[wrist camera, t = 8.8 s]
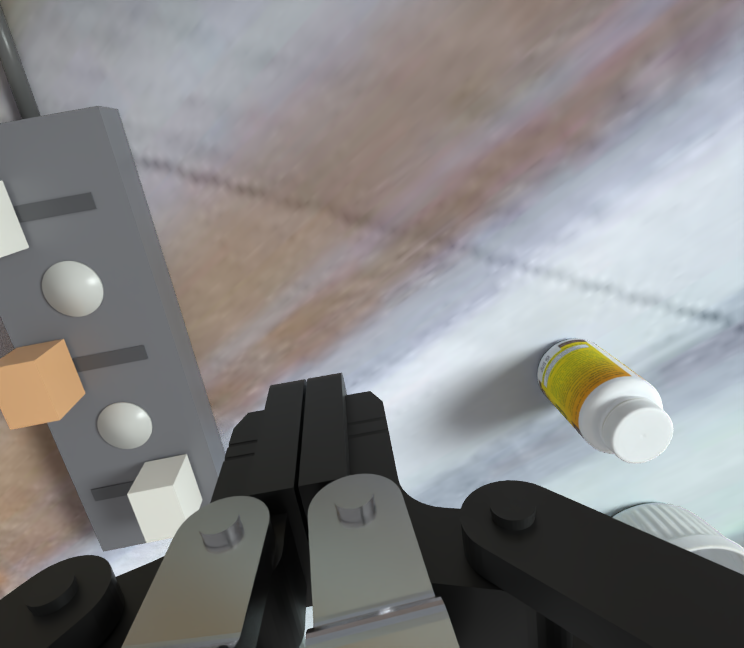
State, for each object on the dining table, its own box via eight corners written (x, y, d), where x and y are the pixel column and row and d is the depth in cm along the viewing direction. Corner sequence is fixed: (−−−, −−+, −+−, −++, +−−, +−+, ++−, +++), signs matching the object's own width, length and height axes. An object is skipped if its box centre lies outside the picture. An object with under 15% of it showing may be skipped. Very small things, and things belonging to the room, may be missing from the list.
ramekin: (701, 591, 51) (757, 657, 44) (570, 614, 50) (607, 685, 44) (714, 478, 46) (779, 533, 40) (571, 501, 46) (612, 561, 39)
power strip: (-126, -62, 29) (-179, -86, 26) (55, -92, 29) (23, -119, 26) (117, 524, 42) (102, 553, 39) (239, 499, 42) (233, 527, 39)
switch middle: (17, 347, 33) (-18, 370, 30) (63, 338, 34) (34, 360, 30) (40, 401, 35) (10, 429, 31) (85, 393, 35) (59, 420, 31)
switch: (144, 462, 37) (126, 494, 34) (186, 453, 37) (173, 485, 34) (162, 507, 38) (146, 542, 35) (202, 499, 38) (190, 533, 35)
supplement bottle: (521, 385, 41) (582, 458, 32) (557, 325, 40) (631, 382, 30) (579, 409, 43) (654, 486, 33) (615, 351, 41) (705, 414, 32)
